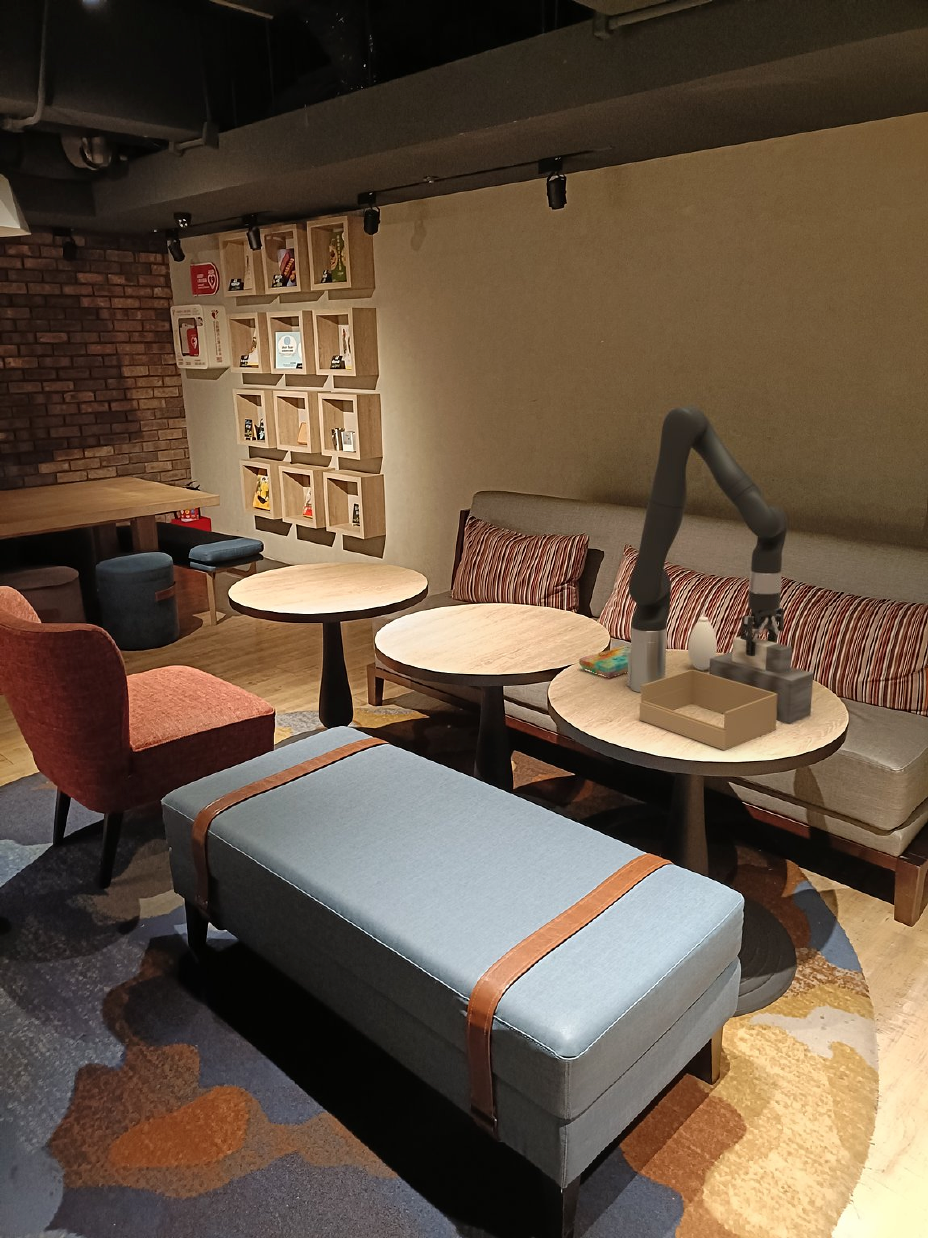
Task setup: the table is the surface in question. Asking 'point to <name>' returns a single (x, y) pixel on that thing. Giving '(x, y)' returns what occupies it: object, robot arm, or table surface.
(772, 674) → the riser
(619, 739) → the table surface
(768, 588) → the robot arm
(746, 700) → the carton
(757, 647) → the block
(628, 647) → the puzzle game
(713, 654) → the sauce bottle
